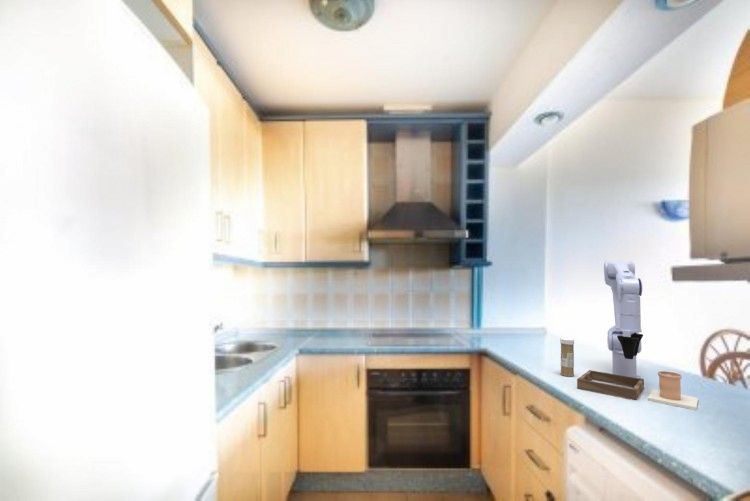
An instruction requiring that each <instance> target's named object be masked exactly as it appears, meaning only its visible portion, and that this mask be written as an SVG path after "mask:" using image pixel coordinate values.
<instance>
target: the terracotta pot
mask: <svg viewBox="0 0 750 501" xmlns="http://www.w3.org/2000/svg"><path fill="white" fill-rule="evenodd" d="M657 375H658V378H659V379H658V380H659V383H658V384H659V388H658V389H659V391H660V397H662V398H665V399H669V400H681V395H682V391H681V390H682V389H681V387H682V386H681V379H682V374H681V373H677V372H673V371H665V370H662V371H661V370H660V371H657Z"/></svg>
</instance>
